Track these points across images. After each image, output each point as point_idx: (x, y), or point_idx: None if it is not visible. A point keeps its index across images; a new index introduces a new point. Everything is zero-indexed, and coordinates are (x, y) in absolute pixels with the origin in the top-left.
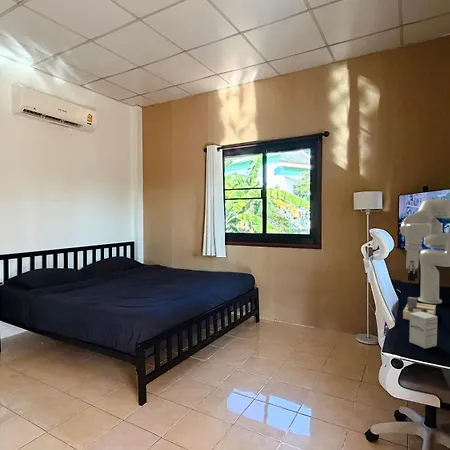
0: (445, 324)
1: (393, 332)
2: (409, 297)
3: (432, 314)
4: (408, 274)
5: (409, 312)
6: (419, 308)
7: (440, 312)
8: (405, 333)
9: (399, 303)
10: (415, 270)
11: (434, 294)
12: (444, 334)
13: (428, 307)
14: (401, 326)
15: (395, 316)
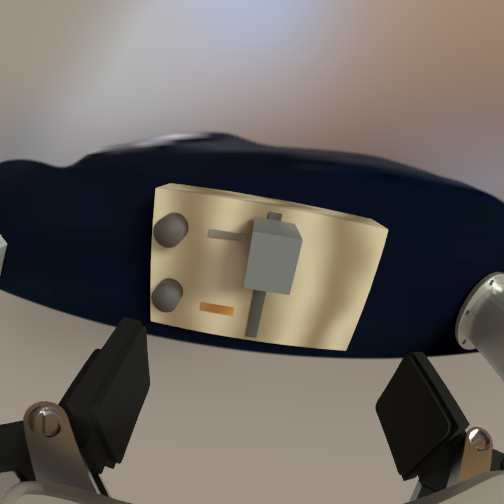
0: (176, 340)
1: (15, 165)
2: (283, 245)
3: (165, 322)
4: (80, 386)
5: (153, 221)
6: None
7: None
8: (21, 201)
9: (450, 187)
10: (418, 473)
11: (480, 346)
12: (72, 313)
13: (295, 321)
14: (68, 182)
15: (194, 146)
